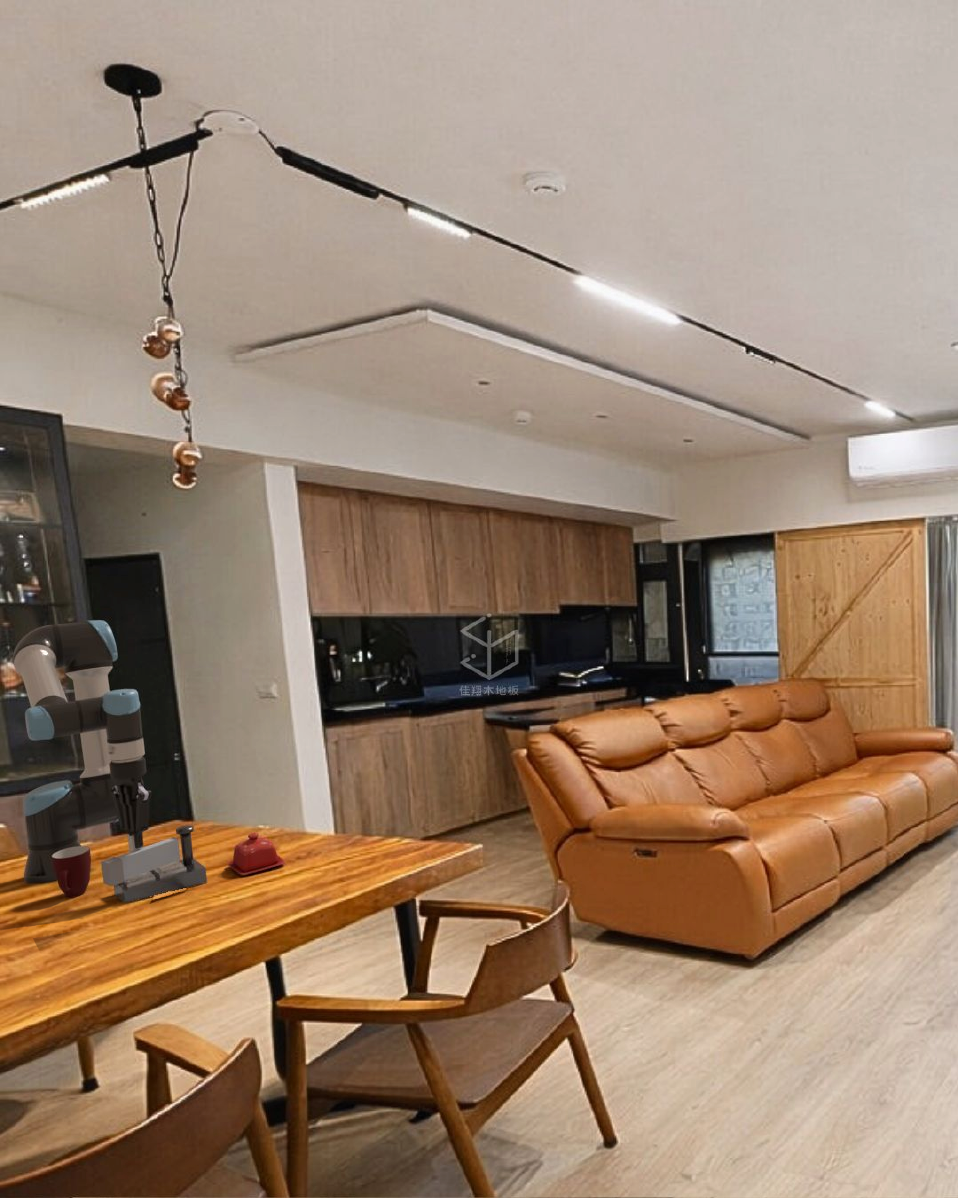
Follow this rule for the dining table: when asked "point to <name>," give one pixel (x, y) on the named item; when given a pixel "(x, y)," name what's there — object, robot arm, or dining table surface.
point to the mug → (72, 869)
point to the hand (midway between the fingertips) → (137, 861)
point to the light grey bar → (140, 861)
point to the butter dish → (254, 855)
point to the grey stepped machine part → (165, 874)
